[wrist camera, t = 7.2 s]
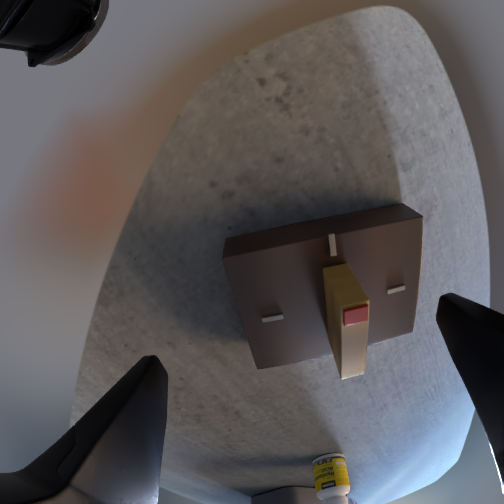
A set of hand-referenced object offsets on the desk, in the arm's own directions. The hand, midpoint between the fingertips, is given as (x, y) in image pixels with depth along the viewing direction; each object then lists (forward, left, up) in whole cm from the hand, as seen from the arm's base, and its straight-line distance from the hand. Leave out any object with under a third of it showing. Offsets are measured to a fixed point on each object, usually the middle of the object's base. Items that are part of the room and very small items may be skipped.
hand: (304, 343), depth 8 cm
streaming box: (-7, -65, -12) cm, 67 cm away
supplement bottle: (+2, -42, -12) cm, 44 cm away
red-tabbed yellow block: (+3, -6, -9) cm, 11 cm away
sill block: (+3, -6, -12) cm, 14 cm away
